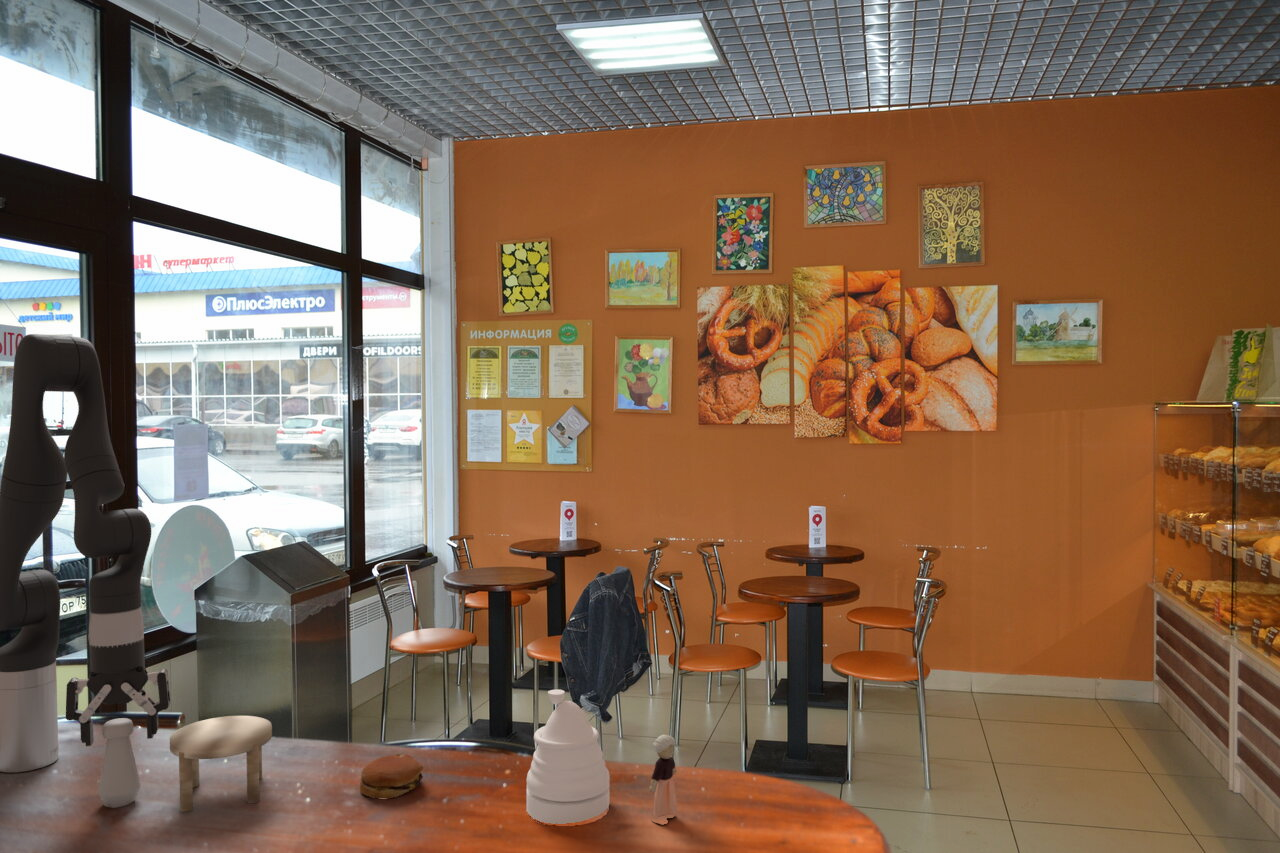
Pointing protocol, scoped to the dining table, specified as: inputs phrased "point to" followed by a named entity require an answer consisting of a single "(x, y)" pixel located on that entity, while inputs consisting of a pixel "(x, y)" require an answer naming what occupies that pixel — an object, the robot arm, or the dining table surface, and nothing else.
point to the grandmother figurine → (664, 777)
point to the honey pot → (567, 768)
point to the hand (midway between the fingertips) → (120, 740)
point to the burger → (390, 776)
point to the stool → (219, 750)
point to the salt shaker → (118, 765)
